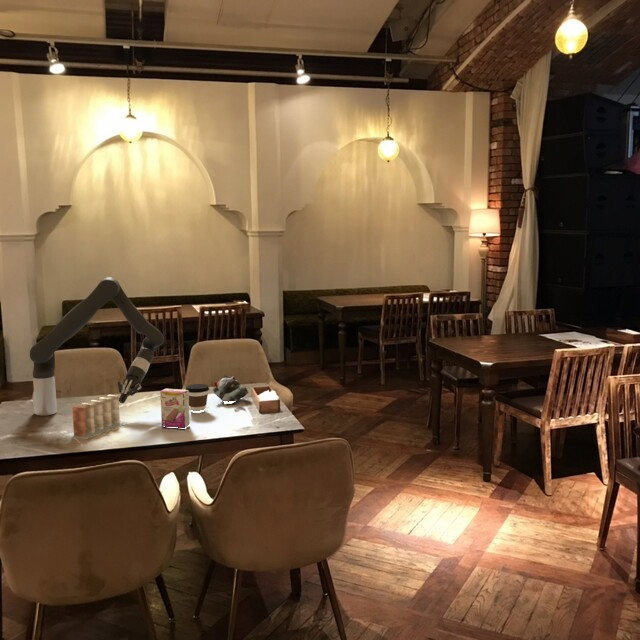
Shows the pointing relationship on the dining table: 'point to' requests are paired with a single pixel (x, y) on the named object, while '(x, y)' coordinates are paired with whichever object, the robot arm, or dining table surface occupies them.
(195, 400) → the coffee cup
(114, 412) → the domino
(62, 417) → the dining table surface
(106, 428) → the domino board
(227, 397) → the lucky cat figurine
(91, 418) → the domino
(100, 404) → the domino
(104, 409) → the domino
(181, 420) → the candy bar box
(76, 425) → the domino
